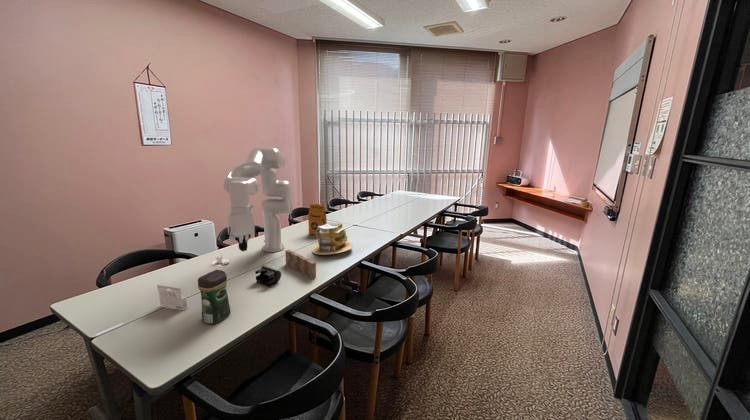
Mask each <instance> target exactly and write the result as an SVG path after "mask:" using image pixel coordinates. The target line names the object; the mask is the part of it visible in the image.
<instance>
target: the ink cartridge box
mask: <svg viewBox="0 0 750 420" xmlns="http://www.w3.org/2000/svg"><path fill="white" fill-rule="evenodd" d="M156 285H157V291H158V297H159V305H160V307H162V308H167V309H173V310H178V311H185V310H187V309H188V301H187V296H184V295H182V291H181V288H177V287H174V286H165V285H159V284H156ZM168 289H169V290H168Z"/></svg>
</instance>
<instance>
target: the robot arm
mask: <svg viewBox="0 0 750 420" xmlns="http://www.w3.org/2000/svg"><path fill="white" fill-rule="evenodd" d="M286 163H287V162H286V157H285V155H284V153H283V152H282V151H281V150H279V149H277V148H275V147H254V148H253V149H251V151H250V153H249V155H248V157H247V158H246V161H245V162H244V163H241V164H239V165H237V166H236V167H233V168H232V169H231V170H230V171H229V172H228V174H227V175H226V177H225V180H224V182H223V189H224V191H225V193H227V194H228V195H229V203H230V204H229V205H230V213H228V218H227V235H229V237H228V239H229V240H230V241H236V242H237V243H238V249H239V251H241V252H246V251H248V242H249V239H250V238H251V237H253V236H255V235H256V227H255V220H254V216H253V213H252V211H251V209H253V208H254V207H253V205H252V204H251V203H250V196H254V195H256V194H257V193H258V192H259V191H260V185H261V187H262V193H263V195H264V196H265V197H266V198H264V199H263V200H261V203H260V204H261V205H260V207H261V211H262V215H263V230H264V231H263V232H264V239H263V243H264V245H263V246H262V251H264V252H266V253H277V252H280V251H282V250H284V249H285V245H284V244H283V243H282V229H281V227H282V226H281V224H282V223H281V218H280V217H279V216H278V215H289V214H291V213H292V211H293V197H292V186H291V183H290V182H289V181H288V180H279V179H278V175H277V174H278V173H277V170H278V169H280V170H281V169H283V168H284V167H285V166H286ZM258 176H260V178H261V184H260V181H259V180H257V179H256V177H258Z"/></svg>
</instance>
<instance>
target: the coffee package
mask: <svg viewBox="0 0 750 420" xmlns="http://www.w3.org/2000/svg"><path fill="white" fill-rule="evenodd" d="M307 216H308V217H307V218H308V219H307V220H308V221H307V222H308V234H309V235H315V236H316V232H317V227H318V226H323V225H324V224H328V223H327V213H326V208H325V205H324V204H320V203H311V202H310V203H309V210H308V215H307Z"/></svg>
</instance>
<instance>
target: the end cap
mask: <svg viewBox="0 0 750 420" xmlns="http://www.w3.org/2000/svg"><path fill="white" fill-rule="evenodd" d="M260 267H261V268H260V269H257V270H255V271H254V273H255V275H256V276H255V280H256V283H257V284H260V285H263V286H265V287H268V288H271V287H273V286H276V285H277V283H278V282H280V280H281V278H282V272H281V271H280V270H278V269H274V268H272V267H268V266H267V265H266V266H265V265H262V266H260Z"/></svg>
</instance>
